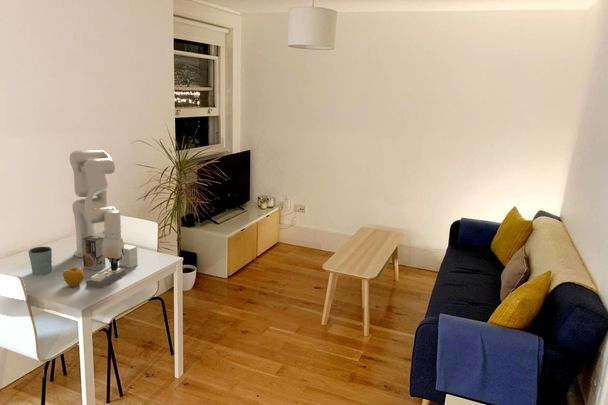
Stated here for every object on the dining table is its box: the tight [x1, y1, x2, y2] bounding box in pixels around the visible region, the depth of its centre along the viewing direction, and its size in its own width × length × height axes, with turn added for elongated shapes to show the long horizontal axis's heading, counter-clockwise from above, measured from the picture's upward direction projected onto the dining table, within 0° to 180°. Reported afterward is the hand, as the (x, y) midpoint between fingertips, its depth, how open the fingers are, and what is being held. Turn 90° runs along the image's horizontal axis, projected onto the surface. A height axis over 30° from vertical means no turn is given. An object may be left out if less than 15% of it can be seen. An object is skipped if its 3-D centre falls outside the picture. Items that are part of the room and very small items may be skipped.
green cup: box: [27, 246, 53, 276], centre depth 229 cm, size 10×10×12 cm
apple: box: [62, 267, 85, 288], centre depth 217 cm, size 9×9×9 cm
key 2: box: [107, 267, 121, 273], centre depth 231 cm, size 5×5×3 cm
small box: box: [118, 244, 139, 269], centre depth 244 cm, size 8×6×10 cm
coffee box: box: [82, 235, 106, 271], centre depth 238 cm, size 9×6×16 cm
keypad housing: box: [85, 266, 127, 290], centre depth 225 cm, size 19×8×3 cm, turn 166°
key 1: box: [90, 272, 106, 282], centre depth 219 cm, size 5×5×3 cm
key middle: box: [102, 272, 114, 277], centre depth 225 cm, size 5×5×3 cm
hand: (114, 269), depth 231 cm, fingers closed
